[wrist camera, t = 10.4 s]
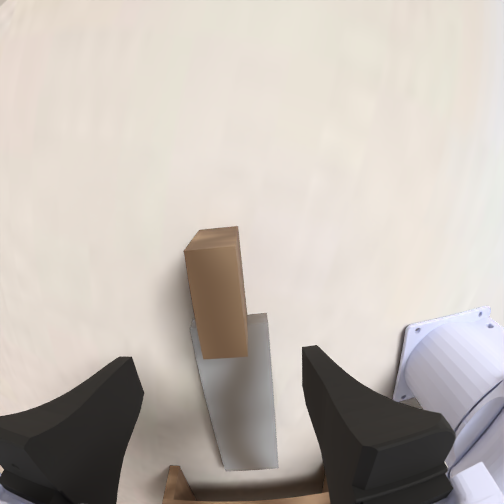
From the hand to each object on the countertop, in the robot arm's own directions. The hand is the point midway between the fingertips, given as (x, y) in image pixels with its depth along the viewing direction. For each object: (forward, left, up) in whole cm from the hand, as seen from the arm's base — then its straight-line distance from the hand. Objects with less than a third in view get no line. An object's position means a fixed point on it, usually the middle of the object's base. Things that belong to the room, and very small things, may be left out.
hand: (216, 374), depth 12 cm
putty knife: (0, +7, -8) cm, 11 cm away
